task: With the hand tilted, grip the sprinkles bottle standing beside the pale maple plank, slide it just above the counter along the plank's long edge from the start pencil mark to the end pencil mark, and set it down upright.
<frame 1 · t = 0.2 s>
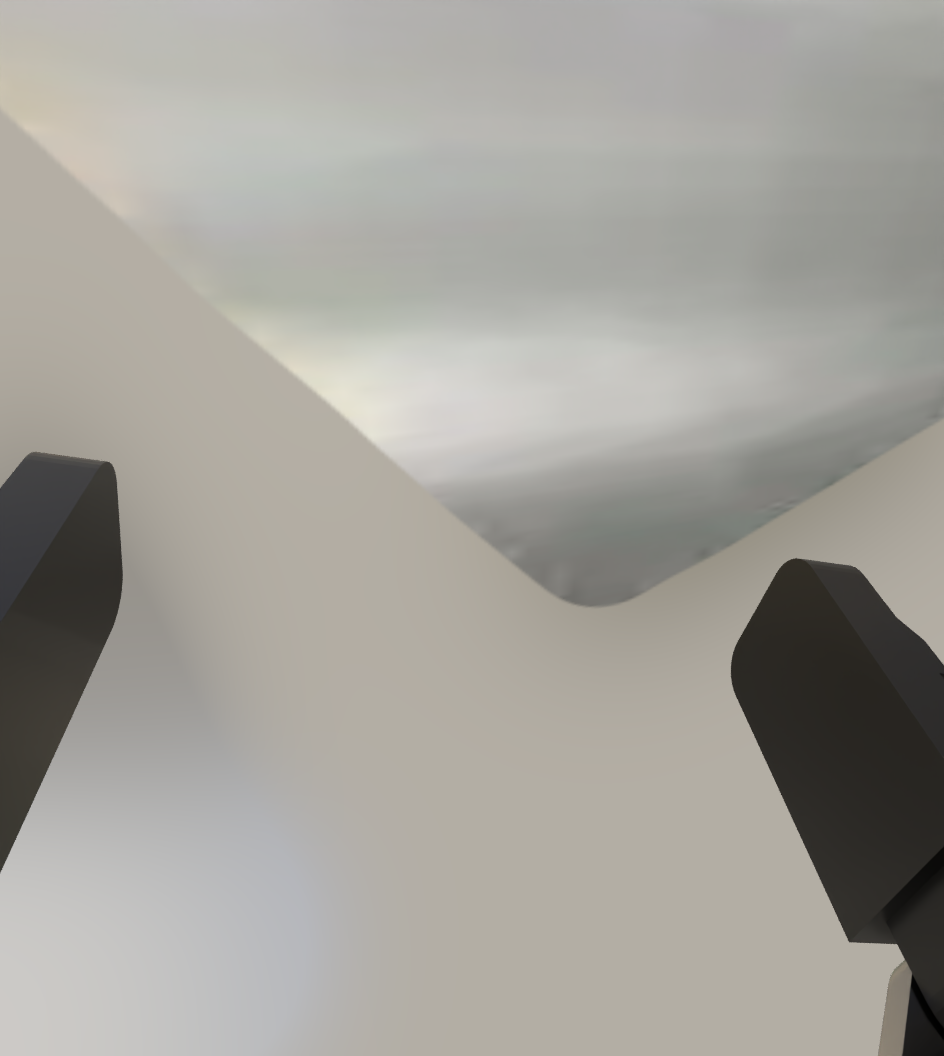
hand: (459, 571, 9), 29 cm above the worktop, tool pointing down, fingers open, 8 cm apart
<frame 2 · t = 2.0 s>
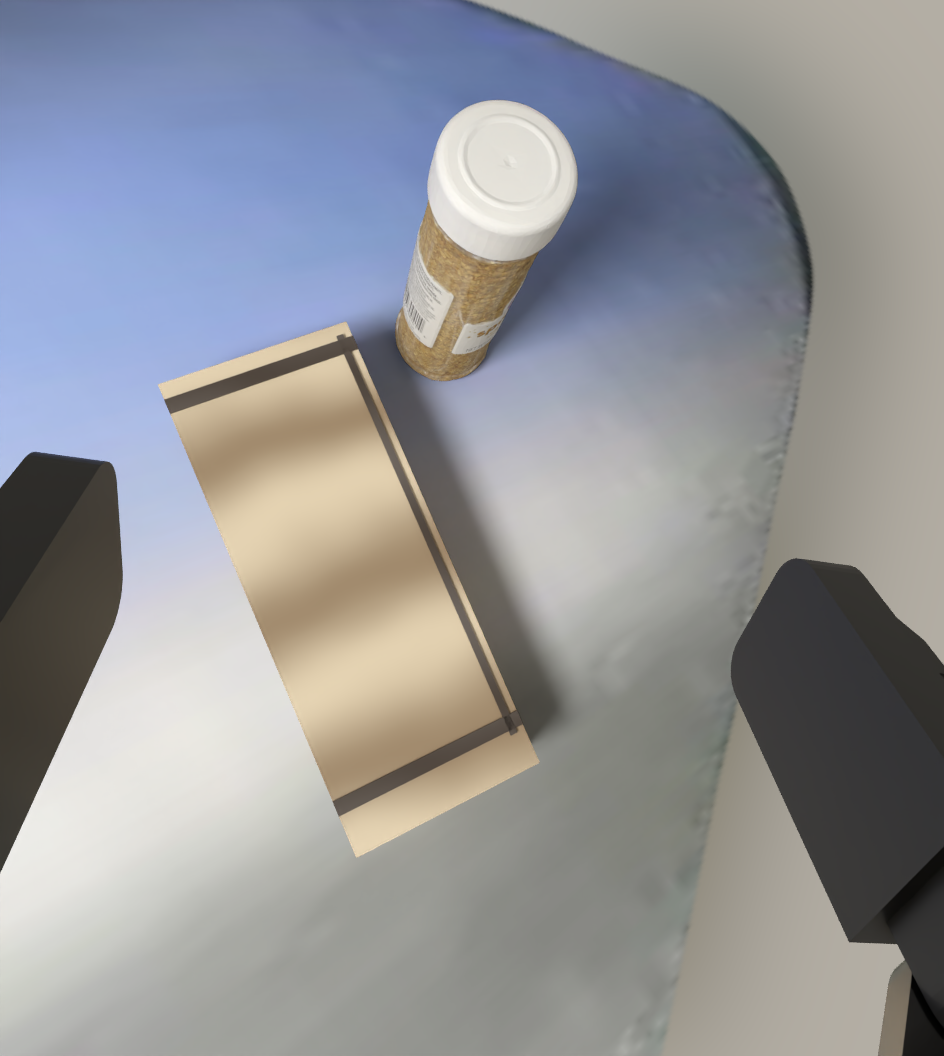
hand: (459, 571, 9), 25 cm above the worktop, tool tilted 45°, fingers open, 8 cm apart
sprinkles bottle: (439, 338, 36), on the worktop
maple plank: (348, 581, 33), on the worktop
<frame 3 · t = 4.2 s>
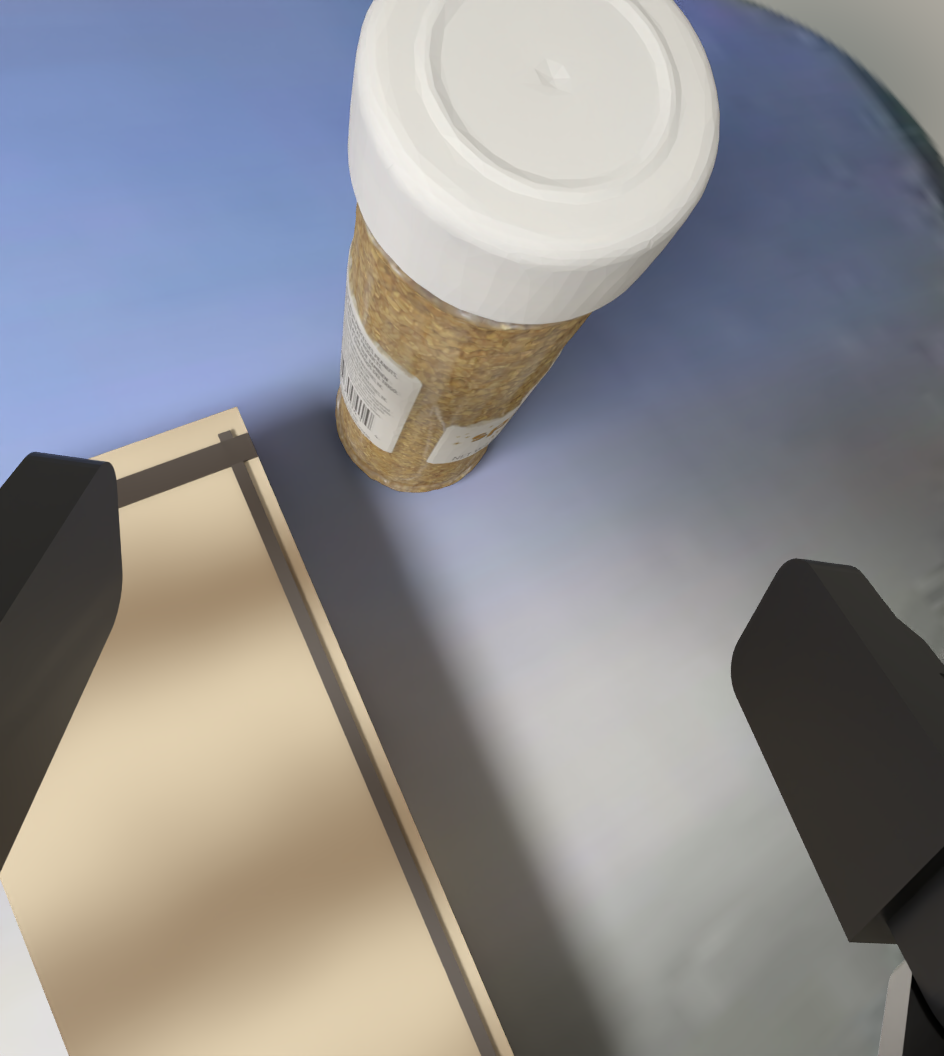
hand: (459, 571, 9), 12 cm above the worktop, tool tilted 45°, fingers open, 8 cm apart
sprinkles bottle: (411, 419, 22), on the worktop
maple plank: (248, 854, 19), on the worktop
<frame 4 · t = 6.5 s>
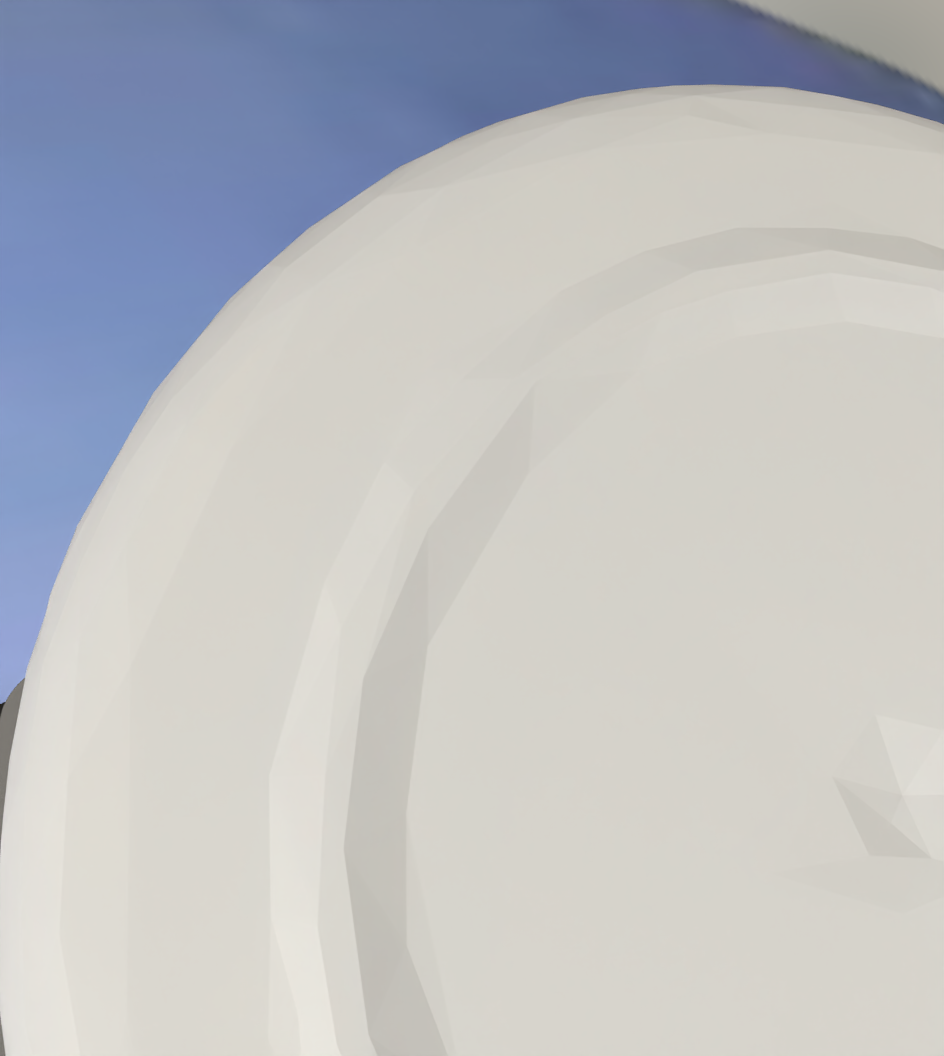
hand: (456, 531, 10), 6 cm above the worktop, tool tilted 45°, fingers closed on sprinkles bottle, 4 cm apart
sprinkles bottle: (395, 669, 15), on the worktop, touching gripper
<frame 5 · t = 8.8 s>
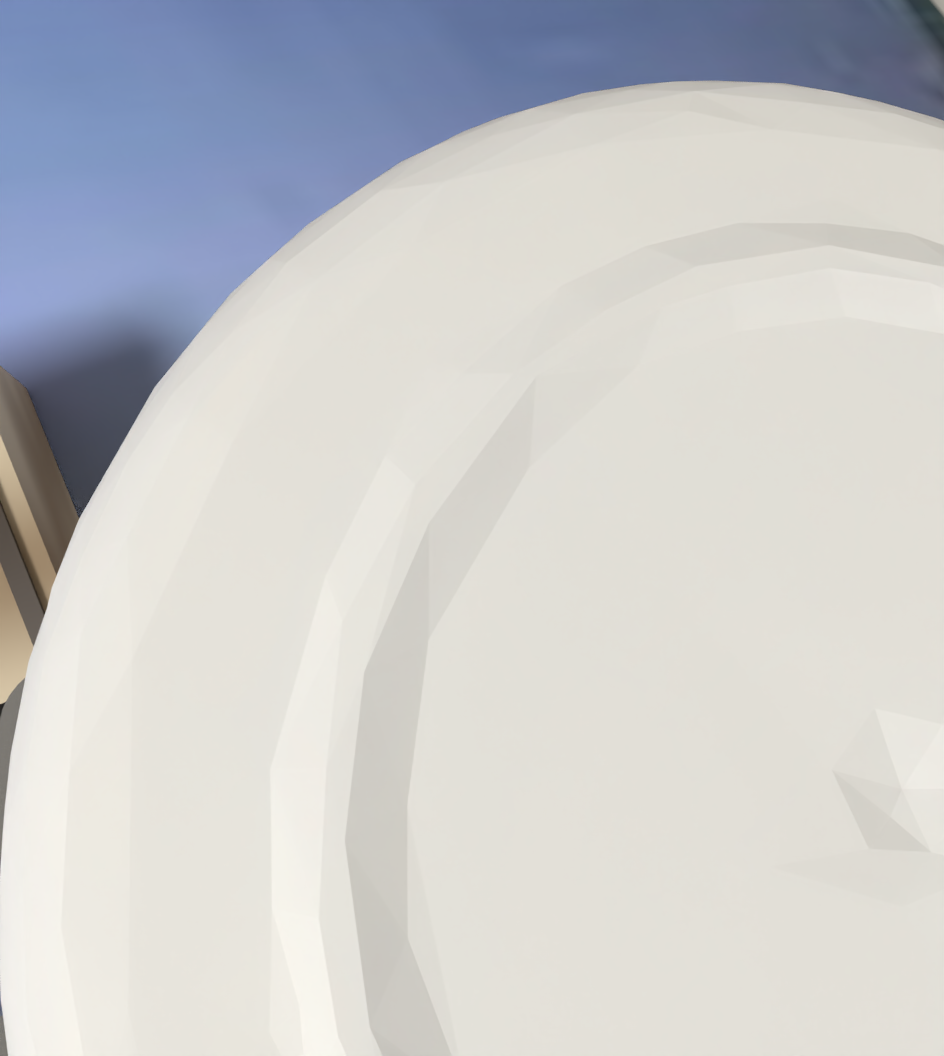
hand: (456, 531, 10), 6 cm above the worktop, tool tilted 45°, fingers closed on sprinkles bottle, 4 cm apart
sprinkles bottle: (394, 668, 15), point 1 cm above the worktop, touching gripper
when the fingers open (6 cm above the worktop, at t = 11.4 s): sprinkles bottle stays where it is, on the worktop.
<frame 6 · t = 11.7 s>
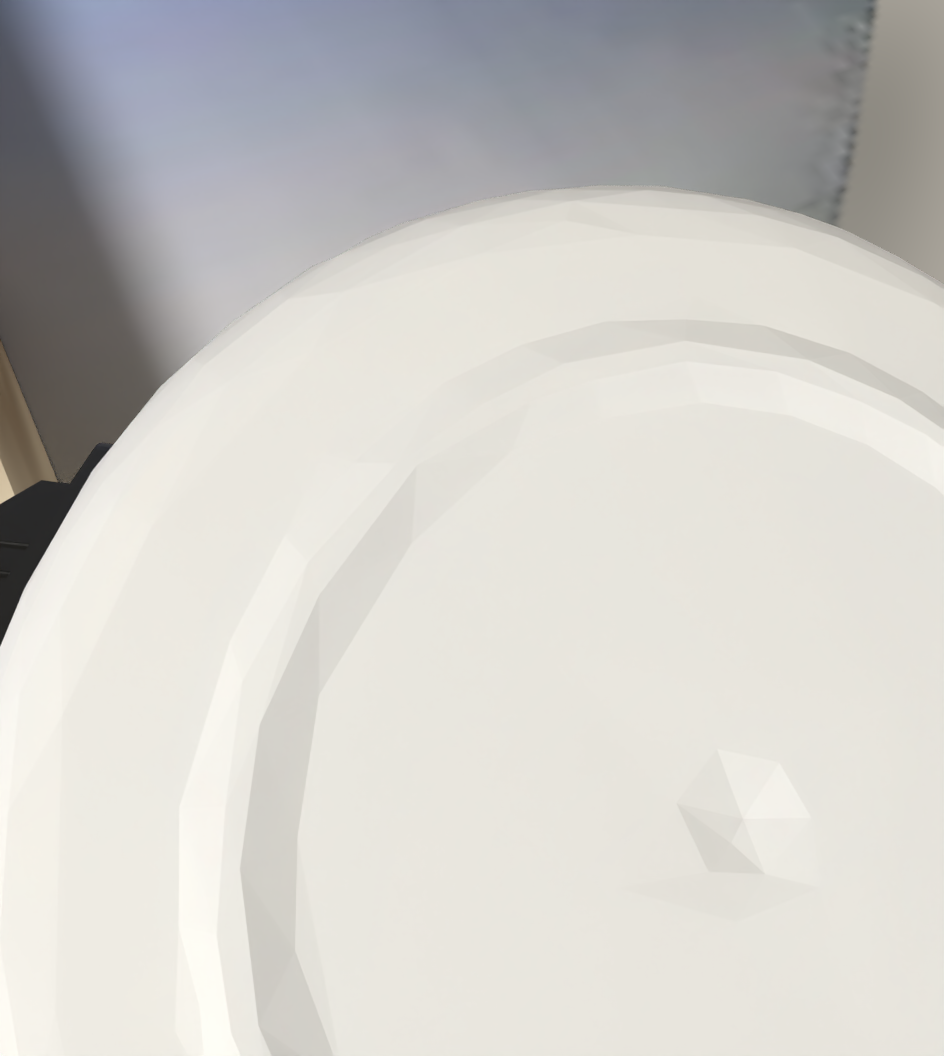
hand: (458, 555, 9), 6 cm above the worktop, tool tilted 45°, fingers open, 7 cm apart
sprinkles bottle: (382, 675, 15), on the worktop
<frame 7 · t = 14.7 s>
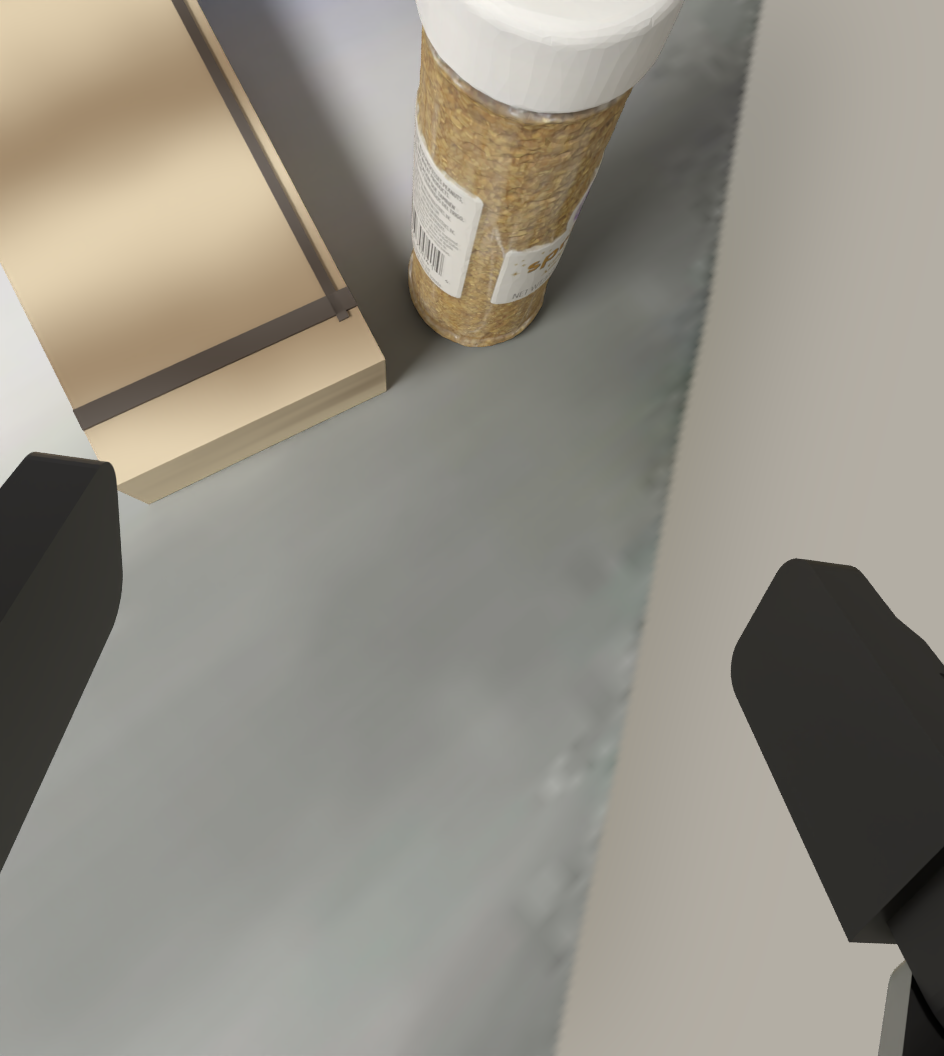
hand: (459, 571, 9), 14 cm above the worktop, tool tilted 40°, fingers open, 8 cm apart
sprinkles bottle: (474, 285, 25), on the worktop
maple plank: (128, 169, 24), on the worktop
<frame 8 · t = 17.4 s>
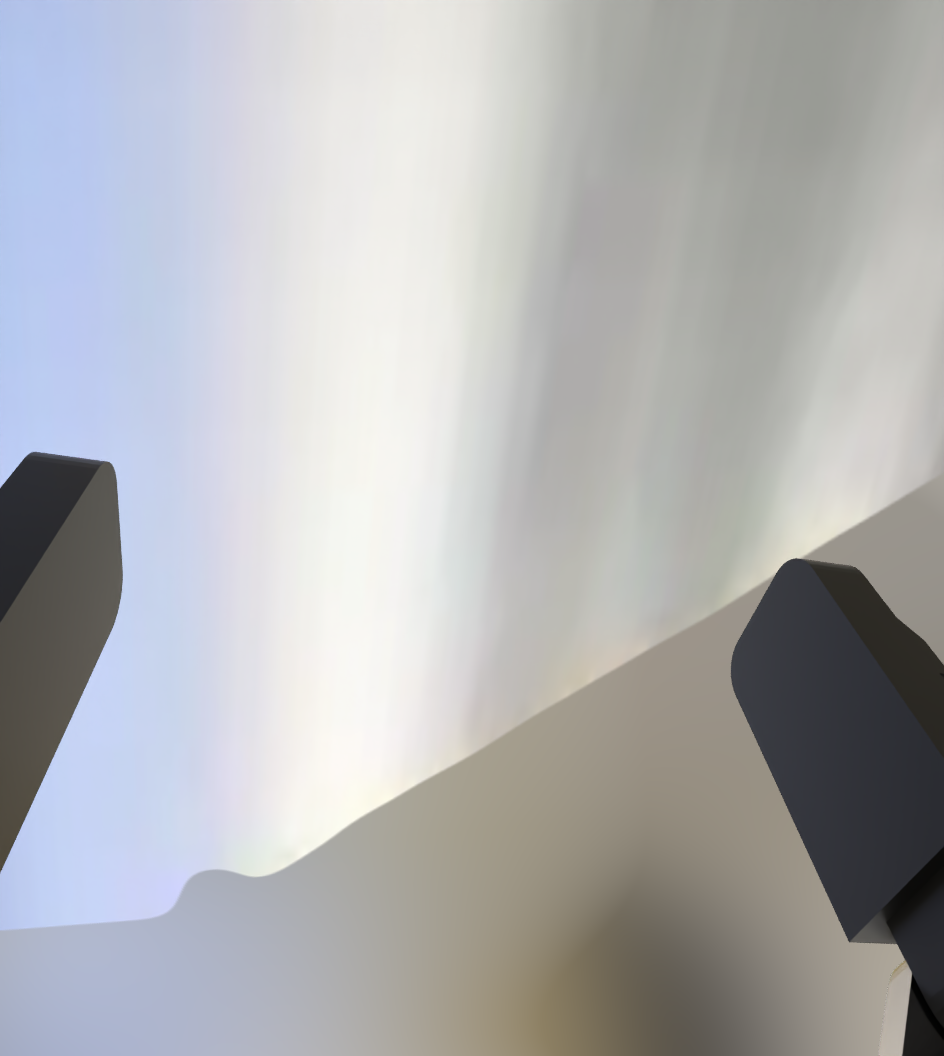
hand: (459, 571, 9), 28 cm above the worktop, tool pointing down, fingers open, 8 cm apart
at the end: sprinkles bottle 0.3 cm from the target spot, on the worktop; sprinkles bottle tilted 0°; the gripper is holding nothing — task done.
